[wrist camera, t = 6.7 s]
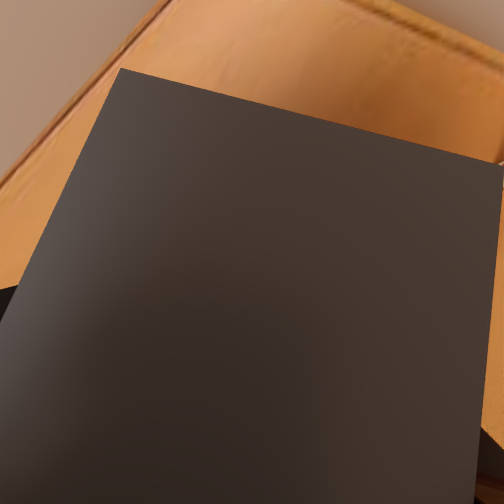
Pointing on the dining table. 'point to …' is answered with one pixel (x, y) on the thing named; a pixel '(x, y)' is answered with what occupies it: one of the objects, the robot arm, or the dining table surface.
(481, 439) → the robot arm
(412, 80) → the dining table surface
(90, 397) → the block
